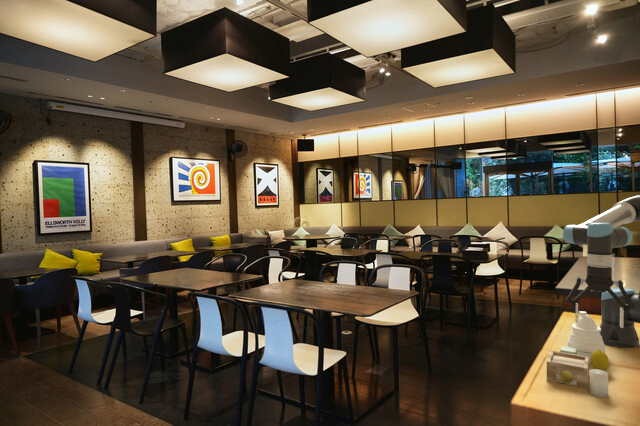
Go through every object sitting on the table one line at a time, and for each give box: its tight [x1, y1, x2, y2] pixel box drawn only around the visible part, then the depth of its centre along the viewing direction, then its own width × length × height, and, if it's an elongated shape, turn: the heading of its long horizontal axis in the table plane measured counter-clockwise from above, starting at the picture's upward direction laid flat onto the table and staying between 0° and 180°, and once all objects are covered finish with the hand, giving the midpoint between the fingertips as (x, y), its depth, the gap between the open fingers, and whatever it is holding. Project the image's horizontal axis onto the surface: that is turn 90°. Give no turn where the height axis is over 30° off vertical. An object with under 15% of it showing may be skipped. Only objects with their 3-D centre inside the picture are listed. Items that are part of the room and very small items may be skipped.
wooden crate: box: [546, 350, 590, 389], centre depth 150 cm, size 12×12×7 cm
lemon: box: [590, 350, 610, 371], centre depth 154 cm, size 6×6×8 cm
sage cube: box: [559, 345, 577, 355], centre depth 164 cm, size 5×5×5 cm
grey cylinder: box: [589, 368, 609, 398], centre depth 138 cm, size 5×5×7 cm
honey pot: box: [566, 310, 606, 363], centre depth 169 cm, size 13×13×18 cm
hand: (598, 324), depth 153 cm, fingers open, 13 cm apart
